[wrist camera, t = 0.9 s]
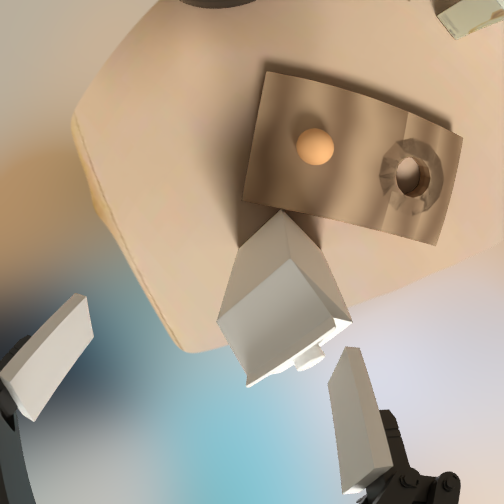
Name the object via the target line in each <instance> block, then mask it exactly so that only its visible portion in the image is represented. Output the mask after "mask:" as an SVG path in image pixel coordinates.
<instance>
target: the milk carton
mask: <svg viewBox="0 0 504 504" xmlns="http://www.w3.org/2000/svg"><path fill="white" fill-rule="evenodd" d="M216 322H217V324H218V326H219V327H220V329H221V331H222V333H223V335H224V336H225V338H226V340H227V342H228V344H229V345H230V347H231V349H232V350H233V352H234V354H235V356H236V357H237V359H238V361H239V363H240V364H241V366H242V368H243V369H244V371H245V373H246V374H247V381H246V387H251V386H252V385H254V384H256V383H257V382H259V381H261V380H262V379H264V378H265V377H267V376H269V375H270V374H275V373H281V372H282V371H284V370H285V369H287V368H289V367H291V366H292V365H294V364H295V367H296V369H297V370H298V371H303V370H306V369H308V368H310V367H312V366H314V365H315V364H317V363H319V362H320V361H321V360H322V359H323V358H324V357H325V354H324V352H323V351H322V350H321V348H320V346H322V345H323V344H324V343H326V342H327V341H329V340H330V339H331V338H333V337H334V336H335V335H337V334H338V333H340V332H341V331H342V330H344V329H345V328H346V327H347V326H349V325H350V324H351V323H352V319H351V316H350V314H349V312H348V309H347V307H346V304H345V302H344V300H343V297H342V295H341V293H340V290H339V288H338V286H337V283H336V281H335V279H334V277H333V274H332V272H331V270H330V268H329V265H328V263H327V261H326V259H325V257H324V254H323V252H322V251H321V250H320V249H319V247H318V246H317V245H316V244H315V243H314V242H313V241H312V240H311V239H310V238H309V237H308V236H307V235H306V234H305V233H304V231H303V230H302V229H301V228H300V227H299V226H298V225H297V224H296V223H295V222H294V221H293V220H292V219H291V218H290V217H289V216H288V215H287V214H286V213H285V212H284V211H283V210H282V209H281V210H280V211H278V212H277V213H276V214H275V215H274V216H273V217H272V218H271V219H270V220H269V221H268V222H267V223H265V224H264V225H263V226H262V227H261V228H260V229H259V230H258V231H257V232H256V233H255V234H254V235H253V236H252V237H251V238H249V239H248V240H247V241H246V242H245V243H244V244H243V245H242V246H241V247H240V248H239V249H238V252H237V255H236V258H235V262H234V265H233V268H232V272H231V275H230V278H229V282H228V285H227V288H226V292H225V295H224V298H223V302H222V305H221V308H220V312H219V315H218V319H217V321H216Z"/></svg>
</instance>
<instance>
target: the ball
mask: <svg viewBox="0 0 504 504" xmlns="http://www.w3.org/2000/svg"><path fill="white" fill-rule="evenodd" d="M296 148H297V152H298V155H299V156H300V158H301V159H302V160H303V161H304V162H306V163H308V164H311V165H321V164H324V163H326V162H327V161H328V160H329V159H330V158H331V157H332V155H333V152H334V143H333V140H332V138H331V137H330V135H329V134H328V133H326V132H325V131H323V130H321V129H317V128H313V129H308V130H306V131H304V132H303V133H302V134H301V135H300V136H299V138H298V140H297V144H296Z"/></svg>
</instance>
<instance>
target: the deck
mask: <svg viewBox="0 0 504 504" xmlns="http://www.w3.org/2000/svg"><path fill="white" fill-rule="evenodd" d="M313 128H317V129H321V130H323V131H325V132H326V133H328V134H329V135H330V137H331V138H332V140H333V143H334V152H333V155H332V157H331V158H330V159H329V160H328V161H327V162H326V163H324V164H321V165H311V164H308V163H306V162H304V161H303V160H302V159H301V158H300V156H299V155H298V152H297V148H296V144H297V140H298V138H299V136H300V135H301V134H302V133H303V132H304V131H306V130H308V129H313ZM462 141H463V138H462V137H461V136H459V135H457V134H455V133H453V132H451V131H449V130H447V129H445V128H443V127H441V126H439V125H437V124H435V123H433V122H431V121H428V120H426V119H424V118H422V117H419V116H417V115H415V114H413V113H410V112H408V111H405V110H403V109H400V108H398V107H395V106H393V105H390V104H387V103H385V102H382V101H379V100H376V99H374V98H371V97H368V96H365V95H362V94H359V93H356V92H352V91H349V90H346V89H342V88H339V87H335V86H332V85H328V84H324V83H320V82H316V81H312V80H308V79H304V78H299V77H295V76H290V75H285V74H280V73H274V72H269V71H266V76H265V81H264V86H263V91H262V96H261V101H260V106H259V111H258V116H257V121H256V126H255V131H254V136H253V142H252V147H251V152H250V157H249V163H248V168H247V173H246V179H245V184H244V190H243V195H242V201H246V202H251V203H256V204H261V205H266V206H271V207H276V208H281V209H286V210H291V211H296V212H300V213H305V214H310V215H314V216H319V217H323V218H328V219H332V220H336V221H341V222H345V223H349V224H353V225H357V226H362V227H366V228H370V229H374V230H378V231H382V232H386V233H389V234H393V235H397V236H401V237H405V238H408V239H412V240H416V241H419V242H423V243H427V244H430V245H434V246H436V244H437V241H438V238H439V235H440V232H441V229H442V226H443V222H444V219H445V216H446V212H447V209H448V205H449V201H450V198H451V194H452V190H453V186H454V181H455V177H456V173H457V168H458V163H459V158H460V153H461V147H462ZM408 157H412V158H413V159H414V160H415V161H416V163H417V164H418V165H419V170H420V174H421V176H420V180H419V184H418V186H417V187H416V188H415V189H414V190H413V191H412V192H409V193H406V194H403V193H402V191H401V190H400V189H399V188H398V185H397V181H396V172H397V168H398V165H399V164H400V163H401V162H402V161H403V160H404V158H408Z"/></svg>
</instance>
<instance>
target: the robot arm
mask: <svg viewBox="0 0 504 504" xmlns="http://www.w3.org/2000/svg"><path fill="white" fill-rule="evenodd" d="M180 1H182V2H184V3H186V4H189V5H192V6H196V7H201V8H229V7H235V6H240V5H243V4H247V3H250V2H253V1H255V0H180ZM93 337H94V335H93V331H92V325H91V320H90V315H89V309H88V304H87V297H86V296H83V295H80V294H77V293H75V294H74V295H73V296H72V297H71V298H70V299H69V300H68V301H66V302H65V303H64V304H63V305H62V306H61V307H60V308H59V309H58V310H57V311H56V312H55V313H54V314H53V315H52V316H51V317H50V318H49V319H48V320H47V321H46V322H45V323H44V324H43V325H42V326H41V328H40V329H39V330H38V331H37V332H36V333H35V334H34V335H33V336H32V337H31V336H29V335H27V336H26V337H24V338H22V339H20V340H19V341H18V342H17V343H16V344H15V345H14V348H12V349H11V350H10V351H9V353H7V354H6V355H5V356H4V357H3V359H2V360H1V361H0V504H36V502H35V499H34V496H33V493H32V489H31V486H30V482H29V479H28V474H27V470H26V466H25V461H24V456H23V451H22V446H21V440H20V434H19V427H18V419H17V414H16V411H15V410H16V409H17V407H18V408H19V410H20V411H21V413H22V414H23V415H24V416H26V417H27V418H29V419H31V420H32V421H34V422H35V420H36V418H37V417H38V415H39V414H40V412H41V411H42V409H43V408H44V406H45V405H46V403H47V402H48V400H49V399H50V397H51V396H52V394H53V393H54V391H55V390H56V388H57V387H58V385H59V384H60V383H61V381H62V380H63V378H64V377H65V375H66V374H67V372H68V371H69V370H70V368H71V367H72V366H73V364H74V363H75V362H76V360H77V359H78V357H79V356H80V355H81V353H82V352H83V350H84V349H85V348H86V347H87V345H88V344H89V343H90V341H91V340H92V339H93ZM328 389H329V394H330V401H331V408H332V414H333V421H334V428H335V435H336V443H337V450H338V459H339V467H340V476H341V485H342V494H351V493H359V492H361V491H362V490H364V489H365V488H366V492H367V494H366V495H365V496H363V497H362V498H360V499H359V500H358V501H357V502H356V503H359V502H360V503H359V504H458V501H459V495H460V487H461V485H460V479H459V477H458V476H457V475H456V474H455V473H453V472H445V473H442V474H441V475H440V476H438V477H431V476H423V475H420V474H419V472H418V471H417V470H415V469H414V468H411V467H410V465H409V462H408V459H407V455H406V452H405V448H404V444H403V441H402V438H401V434H400V431H399V430H398V424H397V421H396V418H395V417H394V416H393V414H392V413H391V412H390V410H379V409H378V405H377V402H376V398H375V396H374V392H373V388H372V385H371V382H370V379H369V376H368V372H367V369H366V366H365V363H364V360H363V357H362V354H361V351H360V348H356V347H345V349H344V351H343V353H342V355H341V357H340V360H339V362H338V364H337V366H336V368H335V370H334V372H333V374H332V376H331V378H330V380H329V382H328Z"/></svg>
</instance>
